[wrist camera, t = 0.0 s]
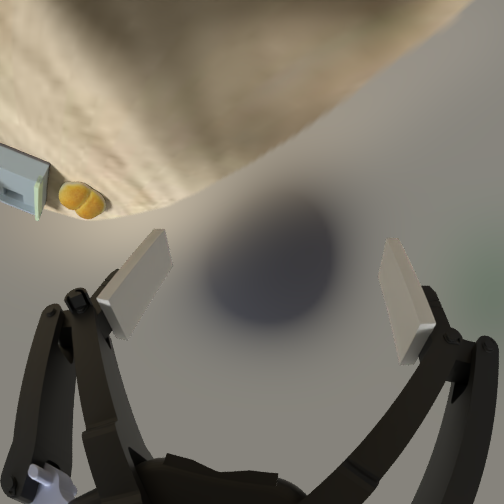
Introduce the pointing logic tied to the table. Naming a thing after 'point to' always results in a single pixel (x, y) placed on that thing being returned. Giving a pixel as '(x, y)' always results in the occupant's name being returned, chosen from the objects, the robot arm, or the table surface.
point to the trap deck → (23, 180)
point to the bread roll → (82, 199)
